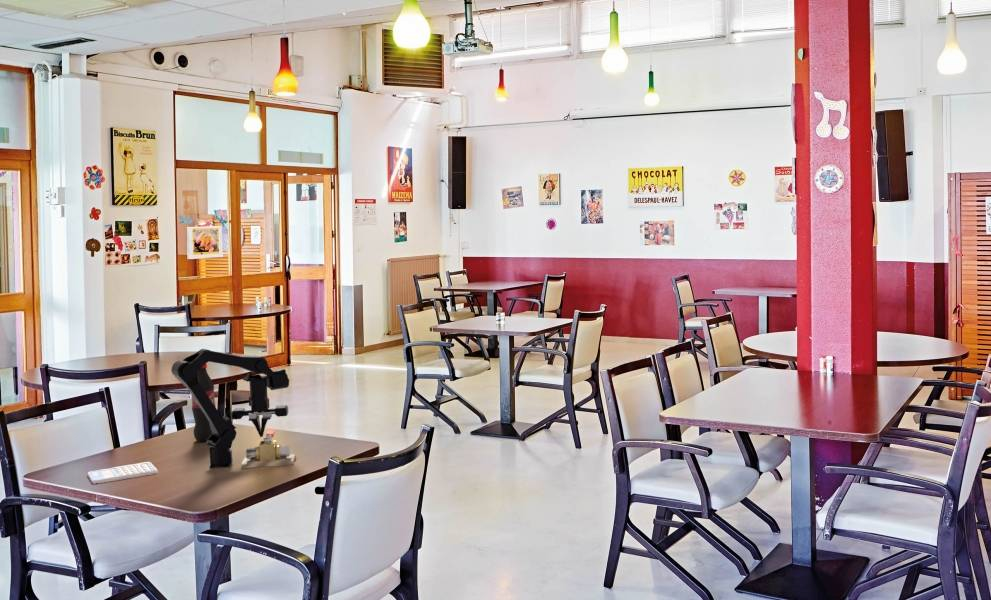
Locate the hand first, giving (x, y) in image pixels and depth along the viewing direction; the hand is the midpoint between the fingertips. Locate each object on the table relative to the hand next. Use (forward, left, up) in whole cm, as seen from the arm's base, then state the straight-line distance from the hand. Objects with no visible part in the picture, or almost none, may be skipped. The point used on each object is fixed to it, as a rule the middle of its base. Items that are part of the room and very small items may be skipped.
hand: (261, 436), depth 317 cm
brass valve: (+3, -9, -6) cm, 11 cm away
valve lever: (+3, -4, 0) cm, 5 cm away
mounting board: (+3, -9, -7) cm, 12 cm away
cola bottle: (-25, +30, -7) cm, 40 cm away
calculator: (-44, -11, -8) cm, 46 cm away
